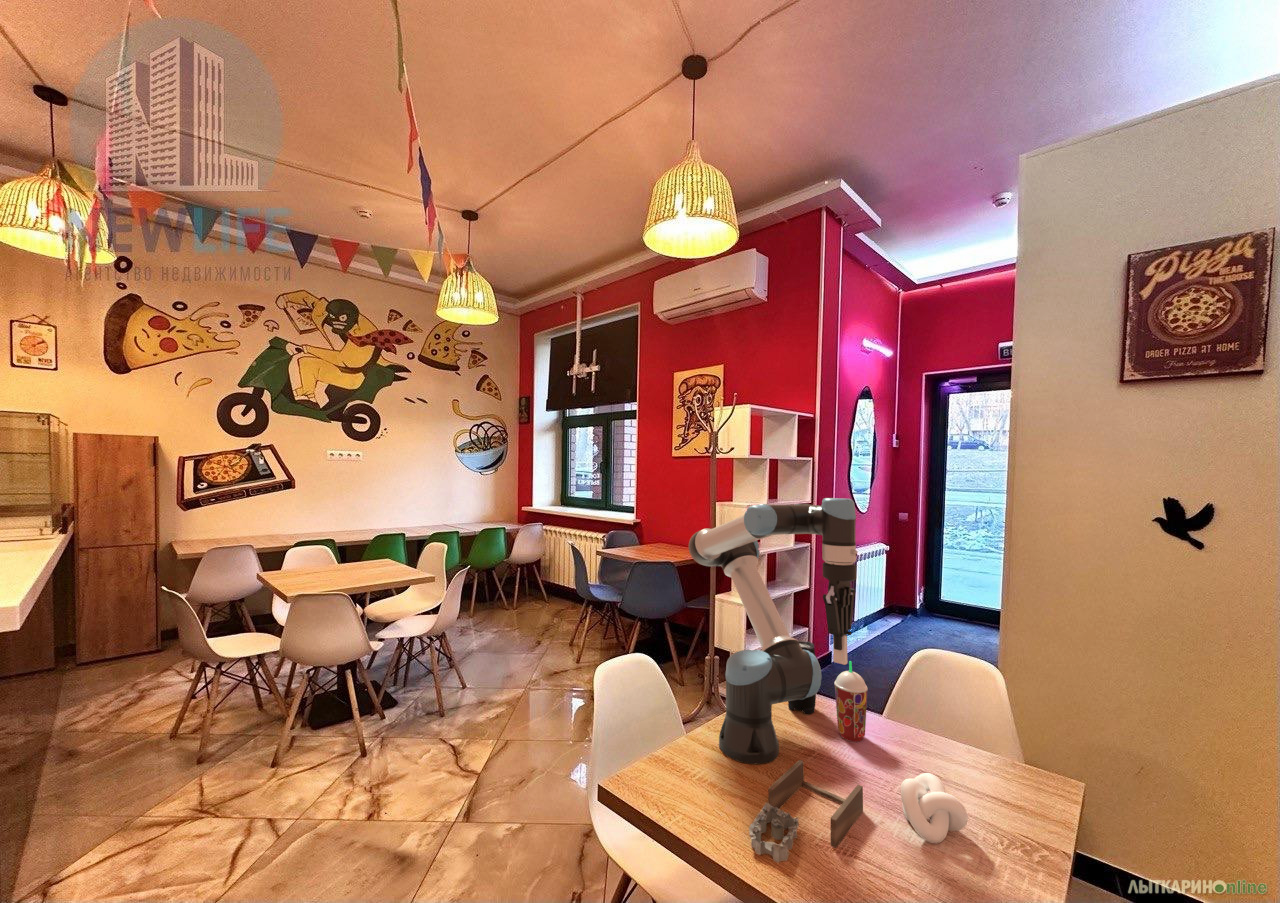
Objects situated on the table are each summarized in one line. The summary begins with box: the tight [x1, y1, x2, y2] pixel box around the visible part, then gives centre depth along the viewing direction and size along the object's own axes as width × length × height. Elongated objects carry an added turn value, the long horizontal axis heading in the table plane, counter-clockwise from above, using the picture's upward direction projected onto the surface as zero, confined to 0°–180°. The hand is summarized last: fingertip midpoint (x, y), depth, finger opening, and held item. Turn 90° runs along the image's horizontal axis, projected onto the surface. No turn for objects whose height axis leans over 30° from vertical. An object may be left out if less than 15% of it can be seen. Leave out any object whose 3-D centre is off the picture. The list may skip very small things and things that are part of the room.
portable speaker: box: [787, 640, 817, 715], centre depth 149 cm, size 9×9×20 cm
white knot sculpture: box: [900, 772, 969, 844], centre depth 98 cm, size 11×12×9 cm
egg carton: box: [748, 801, 800, 864], centre depth 93 cm, size 11×8×4 cm
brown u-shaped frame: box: [768, 759, 864, 849], centre depth 102 cm, size 14×14×5 cm
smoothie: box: [834, 660, 868, 743], centre depth 133 cm, size 8×8×20 cm
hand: (840, 662), depth 116 cm, fingers closed
